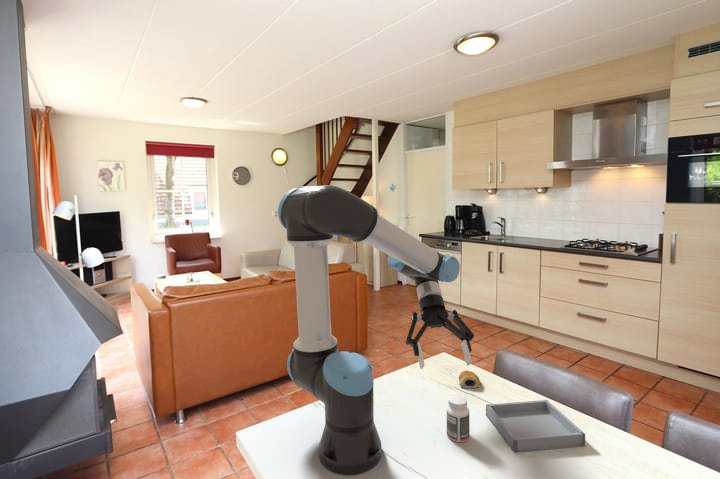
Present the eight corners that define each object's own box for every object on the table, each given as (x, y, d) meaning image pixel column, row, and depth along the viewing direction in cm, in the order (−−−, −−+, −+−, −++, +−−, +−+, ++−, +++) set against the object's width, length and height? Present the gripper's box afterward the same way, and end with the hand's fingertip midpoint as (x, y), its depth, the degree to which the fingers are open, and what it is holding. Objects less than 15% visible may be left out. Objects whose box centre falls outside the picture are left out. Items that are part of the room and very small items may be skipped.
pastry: (457, 375, 132) (457, 365, 132) (477, 376, 131) (477, 366, 130) (459, 388, 123) (459, 377, 122) (481, 390, 122) (481, 379, 121)
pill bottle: (467, 429, 101) (467, 394, 100) (471, 443, 95) (471, 405, 94) (445, 429, 101) (445, 393, 100) (448, 442, 96) (448, 405, 94)
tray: (514, 452, 91) (514, 440, 91) (485, 415, 107) (486, 404, 107) (584, 446, 93) (585, 433, 93) (546, 410, 109) (546, 399, 108)
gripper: (465, 303, 124) (484, 367, 111) (390, 307, 122) (400, 373, 108) (472, 291, 118) (493, 357, 105) (393, 294, 116) (404, 363, 103)
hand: (446, 365), depth 107 cm, fingers open, 13 cm apart
